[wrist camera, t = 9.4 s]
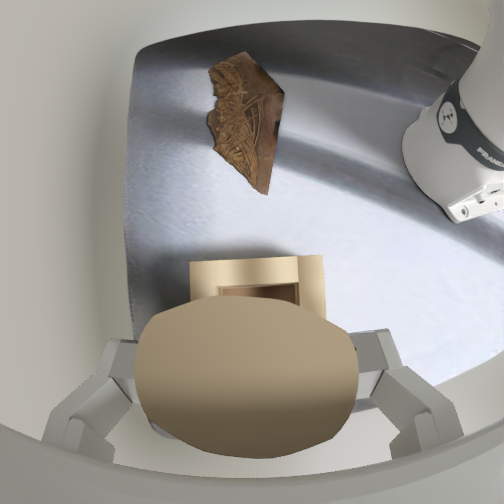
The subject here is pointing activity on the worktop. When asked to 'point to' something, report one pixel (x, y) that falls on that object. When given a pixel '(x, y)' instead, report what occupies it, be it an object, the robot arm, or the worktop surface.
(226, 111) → the wooden fragment
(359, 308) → the worktop surface
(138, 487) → the robot arm
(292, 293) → the socket block
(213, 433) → the handle
